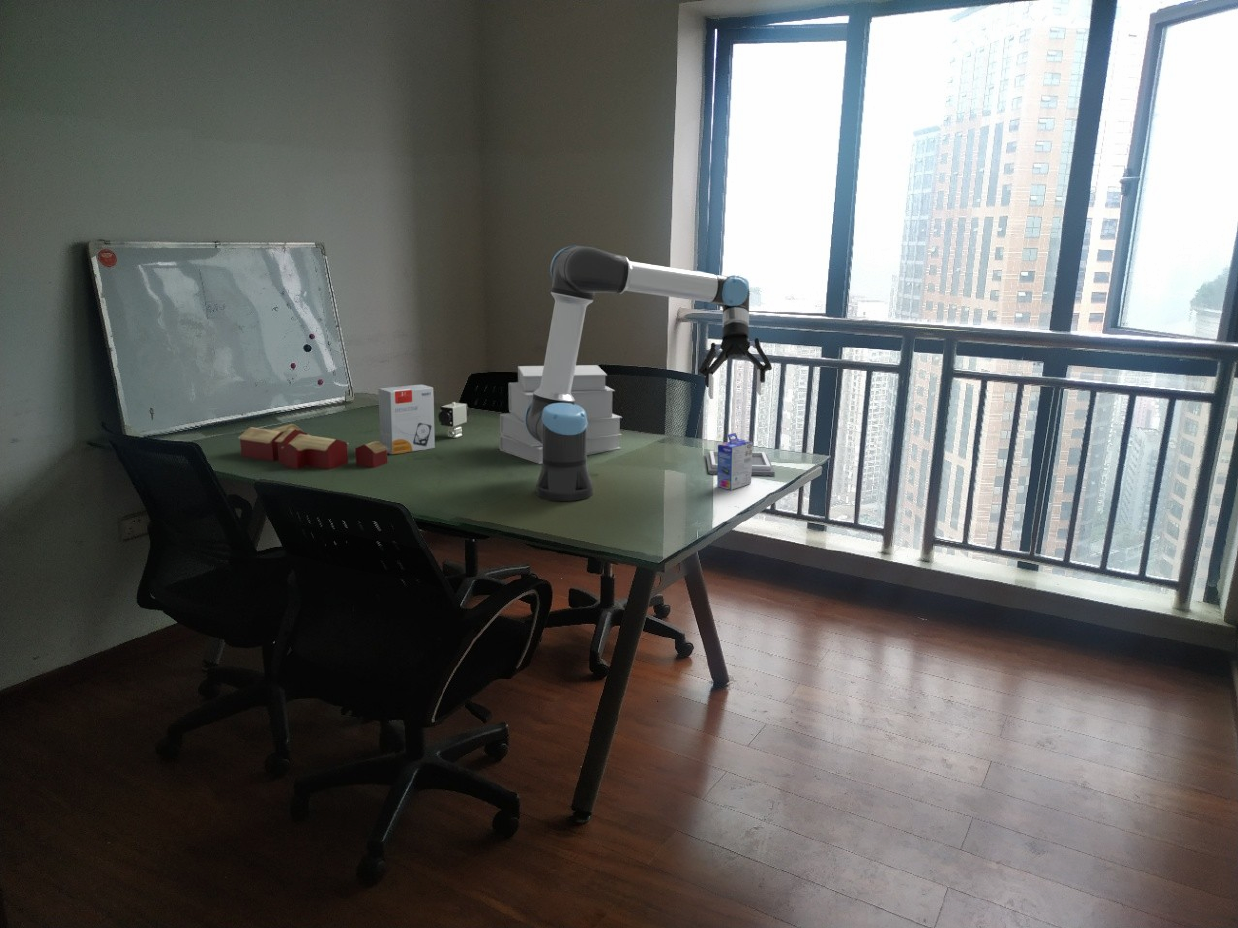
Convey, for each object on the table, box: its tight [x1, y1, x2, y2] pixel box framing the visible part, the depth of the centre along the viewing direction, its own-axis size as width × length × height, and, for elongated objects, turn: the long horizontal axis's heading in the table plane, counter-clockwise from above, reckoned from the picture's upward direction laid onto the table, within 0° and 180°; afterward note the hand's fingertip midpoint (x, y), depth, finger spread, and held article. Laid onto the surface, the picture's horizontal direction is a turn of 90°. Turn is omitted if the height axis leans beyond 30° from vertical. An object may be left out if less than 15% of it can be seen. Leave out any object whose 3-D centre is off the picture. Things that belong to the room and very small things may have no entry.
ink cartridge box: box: [716, 432, 753, 491], centre depth 240 cm, size 10×6×14 cm, turn 137°
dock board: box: [705, 450, 776, 477], centre depth 261 cm, size 19×21×2 cm
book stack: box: [498, 364, 623, 465], centre depth 275 cm, size 30×35×26 cm
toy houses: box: [237, 423, 389, 470], centre depth 260 cm, size 45×21×10 cm, turn 64°
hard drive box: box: [377, 384, 436, 455], centre depth 272 cm, size 16×8×20 cm, turn 131°
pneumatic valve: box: [438, 401, 470, 439], centre depth 291 cm, size 6×12×12 cm, turn 155°
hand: (734, 395), depth 240 cm, fingers open, 13 cm apart
